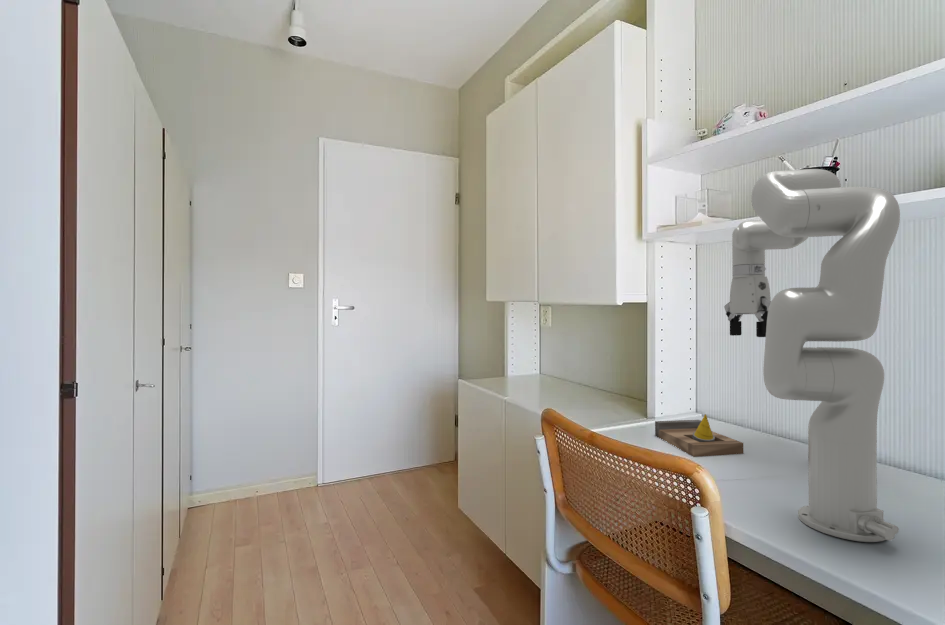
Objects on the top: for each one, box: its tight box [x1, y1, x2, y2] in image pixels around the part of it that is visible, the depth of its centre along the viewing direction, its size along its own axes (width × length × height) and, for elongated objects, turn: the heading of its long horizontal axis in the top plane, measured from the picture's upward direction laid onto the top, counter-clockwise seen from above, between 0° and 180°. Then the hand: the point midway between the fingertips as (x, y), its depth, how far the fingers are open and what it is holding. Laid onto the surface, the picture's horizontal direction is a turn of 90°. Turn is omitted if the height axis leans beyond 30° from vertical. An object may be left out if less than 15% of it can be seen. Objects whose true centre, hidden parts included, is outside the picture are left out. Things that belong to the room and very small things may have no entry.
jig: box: [654, 419, 744, 458], centre depth 127 cm, size 18×14×5 cm
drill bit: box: [692, 414, 715, 442], centre depth 123 cm, size 5×5×10 cm
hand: (748, 336), depth 124 cm, fingers open, 9 cm apart
